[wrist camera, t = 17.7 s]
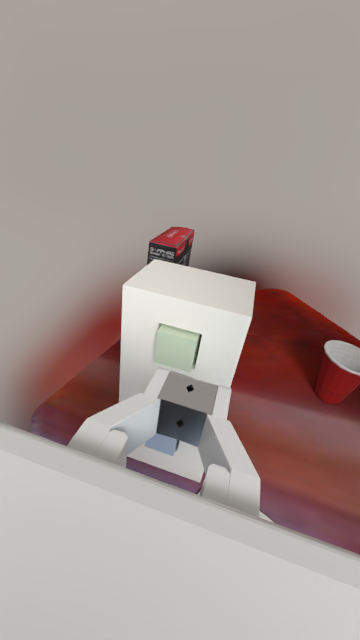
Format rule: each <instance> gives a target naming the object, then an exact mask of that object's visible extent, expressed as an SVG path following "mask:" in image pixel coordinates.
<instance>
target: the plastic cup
mask: <svg viewBox="0 0 360 640" xmlns="http://www.w3.org/2000/svg"><path fill="white" fill-rule="evenodd" d="M322 359H323V360H322V363H321V366H320V370H319V373H318V376H317V382H316V385H315V393H316V395H317V396H318V397H319V398H320V399H321V400H322V401H324V402H326V403H329V404H339V403H340V402H342V401H343V400H344V399H345V398H346V397H347V396H348V395H349V394H350V393H351V392H352V391H353V390H354V389H356V388H357V387H358V386H359V385H360V348H358V347H356V346H354V345H352V344H349V343H346V342H343V341H338V340H331V341H328V342H326V344H325V346H324V355H323V358H322Z"/></svg>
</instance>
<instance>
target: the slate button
mask: <svg viewBox="0 0 360 640" xmlns="http://www.w3.org/2000/svg"><path fill="white" fill-rule="evenodd" d="M177 443H178V440H177V439H174V438H171V437H167V436H164V435H161V434H158V433H156V434H155V435H154V436H153V437H151V438H150V439H149V440H147V441H146V442H145V447H148V448H151V449H154V450H156V451H159V452H162V453H165V454H168V455H171V456H173V455H174V452H175V449H176V446H177Z"/></svg>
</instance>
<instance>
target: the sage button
mask: <svg viewBox="0 0 360 640" xmlns="http://www.w3.org/2000/svg"><path fill="white" fill-rule="evenodd" d="M201 338H202V334H199V333H195V332H191V331H188V330H184V329H180V328H177V327H173V326H169V325H165V324H162V325H161V327H160V328H159V330H158V333H157V342H156V351H155V359H154V362H156V363H160V364H163V365H166V366H170V367H173V368H176V369H180V370H183V371H187V372H191V370H192V367H193V364H194V362H195V359H196V357H197V354H198V351H199V347H200V342H201Z"/></svg>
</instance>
